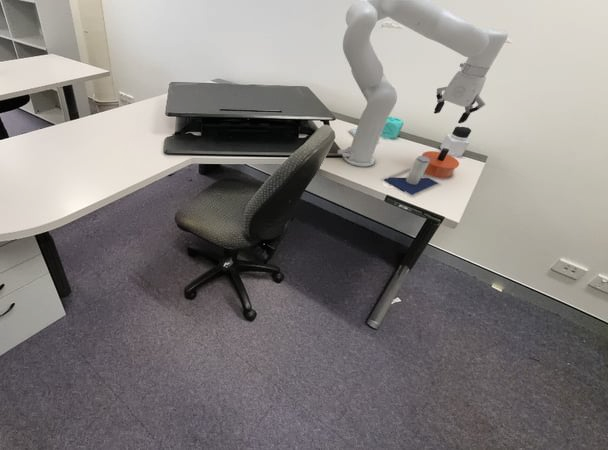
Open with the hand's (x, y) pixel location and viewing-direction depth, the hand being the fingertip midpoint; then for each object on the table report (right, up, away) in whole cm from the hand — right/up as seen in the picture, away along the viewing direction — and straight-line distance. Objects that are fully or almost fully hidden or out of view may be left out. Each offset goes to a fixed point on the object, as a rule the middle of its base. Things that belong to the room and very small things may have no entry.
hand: (448, 117), depth 126 cm
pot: (+2, -19, +11) cm, 22 cm away
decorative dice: (-4, +2, +35) cm, 35 cm away
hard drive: (-17, +1, +33) cm, 37 cm away
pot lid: (+2, -15, +8) cm, 17 cm away
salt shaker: (-12, -24, +4) cm, 27 cm away
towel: (-12, -24, +4) cm, 27 cm away
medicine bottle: (+18, -8, +23) cm, 31 cm away
